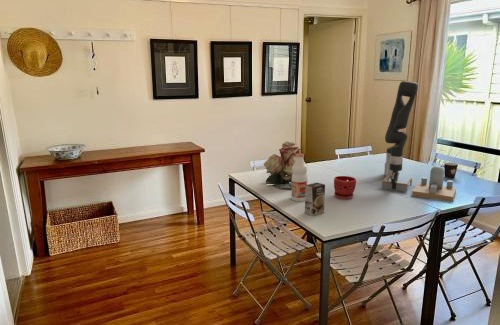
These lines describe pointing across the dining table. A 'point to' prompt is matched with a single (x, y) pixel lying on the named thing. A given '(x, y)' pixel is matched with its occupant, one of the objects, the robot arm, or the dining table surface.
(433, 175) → the wooden peg board
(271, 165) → the rose bouquet
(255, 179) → the dining table surface
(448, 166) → the coffee mug
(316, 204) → the coffee box
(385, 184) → the thin wooden rail frame
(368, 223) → the dining table surface
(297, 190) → the fruit juice
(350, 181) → the plant pot
